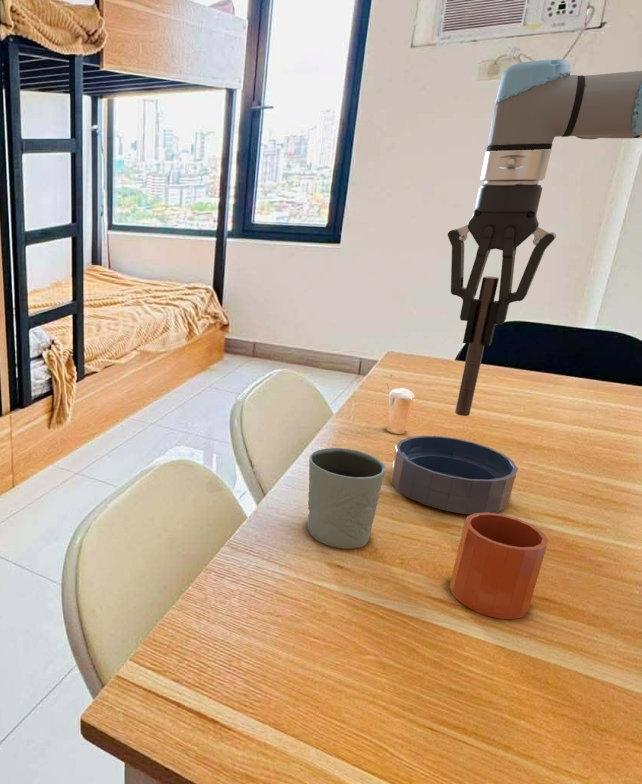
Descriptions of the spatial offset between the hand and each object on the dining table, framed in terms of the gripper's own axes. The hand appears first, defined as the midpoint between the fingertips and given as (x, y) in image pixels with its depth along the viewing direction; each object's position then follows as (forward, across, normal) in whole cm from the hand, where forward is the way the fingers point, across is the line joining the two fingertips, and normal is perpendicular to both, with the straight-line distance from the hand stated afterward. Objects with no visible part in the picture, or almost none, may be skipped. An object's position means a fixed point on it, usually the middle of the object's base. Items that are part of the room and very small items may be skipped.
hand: (477, 342), depth 97 cm
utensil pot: (+26, +10, -27) cm, 39 cm away
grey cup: (+26, -10, -24) cm, 37 cm away
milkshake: (+26, -14, +23) cm, 37 cm away
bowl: (+26, 0, +1) cm, 26 cm away
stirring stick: (+12, 0, 0) cm, 12 cm away
